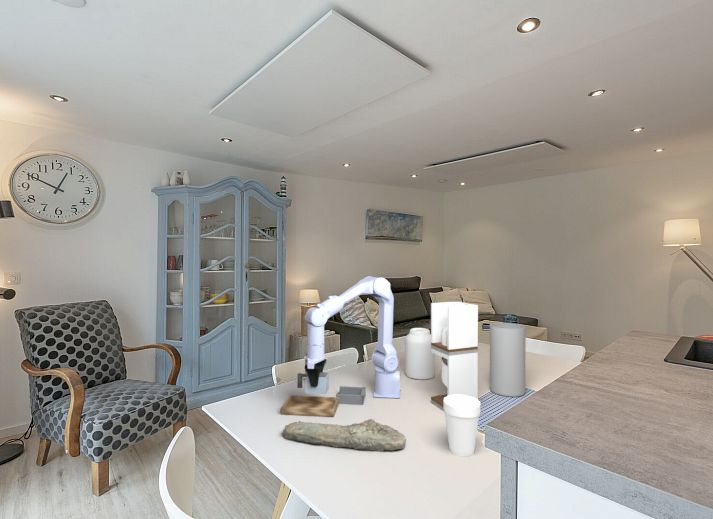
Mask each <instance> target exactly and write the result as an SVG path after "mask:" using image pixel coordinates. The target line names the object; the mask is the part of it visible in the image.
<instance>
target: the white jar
mask: <svg viewBox="0 0 713 519" xmlns="http://www.w3.org/2000/svg"><path fill="white" fill-rule="evenodd" d="M435 355H436V354H434V353H432V352H431V330H429V329H428V328H425V327H413V328H411V329H410V330H409V333H407V335H406V337H405V341H404V365H405V366H404V373H405V375H406V377H408V378H409V379H410V378H411V379H413V380H420V381H421V380H422V381H423V380H430V379H432V378H434V376H435V368H436V367H435Z"/></svg>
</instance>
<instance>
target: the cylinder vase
mask: <svg viewBox="0 0 713 519" xmlns="http://www.w3.org/2000/svg"><path fill="white" fill-rule="evenodd" d="M526 330H527V329H526V326H525V325H523V324H519V323H511V322H494V323H492V322H491V323H490V324H489V390H490V391H491V392H493V394H496V395H499V396H503V397H507V398H519V397H522V396H524V395H525V394H526V334H527V332H526Z"/></svg>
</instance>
